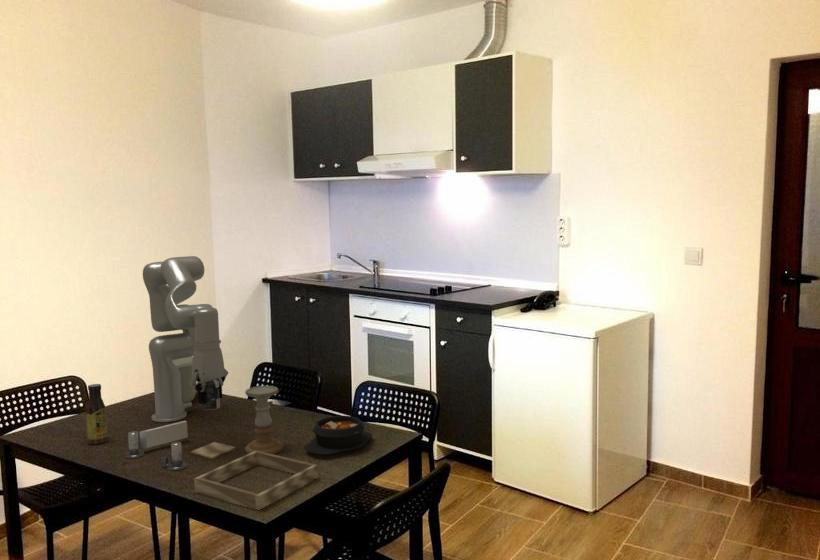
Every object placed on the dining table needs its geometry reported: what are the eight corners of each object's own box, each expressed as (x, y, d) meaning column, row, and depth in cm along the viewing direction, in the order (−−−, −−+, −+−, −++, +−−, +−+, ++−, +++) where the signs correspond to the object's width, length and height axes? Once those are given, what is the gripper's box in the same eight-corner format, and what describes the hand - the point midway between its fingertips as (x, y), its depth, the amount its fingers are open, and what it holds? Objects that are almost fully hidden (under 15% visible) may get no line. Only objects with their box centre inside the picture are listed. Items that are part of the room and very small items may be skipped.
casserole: (332, 465, 210) (331, 438, 209) (291, 452, 222) (290, 427, 221) (385, 441, 230) (384, 417, 229) (345, 431, 241) (344, 407, 240)
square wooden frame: (256, 462, 213) (255, 450, 212) (318, 478, 200) (317, 464, 200) (194, 492, 192) (194, 478, 192) (259, 511, 179) (258, 496, 179)
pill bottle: (224, 406, 223) (222, 372, 222) (210, 411, 218) (208, 377, 217) (211, 404, 226) (210, 370, 225) (197, 408, 221) (195, 374, 220)
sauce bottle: (99, 445, 231) (95, 388, 228) (83, 444, 232) (79, 387, 229) (111, 439, 237) (107, 383, 235) (95, 438, 238) (91, 382, 236)
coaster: (214, 443, 230) (214, 441, 230) (235, 448, 225) (235, 447, 225) (190, 453, 222) (190, 451, 222) (212, 458, 217) (212, 457, 217)
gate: (142, 449, 222) (141, 433, 221) (139, 448, 223) (138, 431, 223) (188, 437, 233) (187, 421, 232) (185, 436, 234) (184, 420, 234)
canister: (146, 402, 280) (143, 352, 278) (187, 392, 293) (184, 344, 291) (168, 411, 268) (165, 358, 265) (209, 400, 281) (206, 350, 279)
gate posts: (120, 456, 220) (118, 434, 219) (136, 450, 225) (134, 428, 224) (176, 472, 207) (174, 448, 206) (191, 465, 212) (190, 442, 211)
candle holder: (267, 440, 233) (264, 382, 230) (291, 448, 225) (289, 388, 223) (237, 451, 223) (234, 391, 221) (261, 459, 215) (258, 397, 213)
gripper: (219, 339, 229) (222, 392, 231) (178, 350, 214) (181, 405, 216) (235, 342, 225) (238, 395, 227) (194, 352, 210) (197, 409, 213)
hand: (210, 399), depth 222 cm, fingers closed on pill bottle, 6 cm apart
